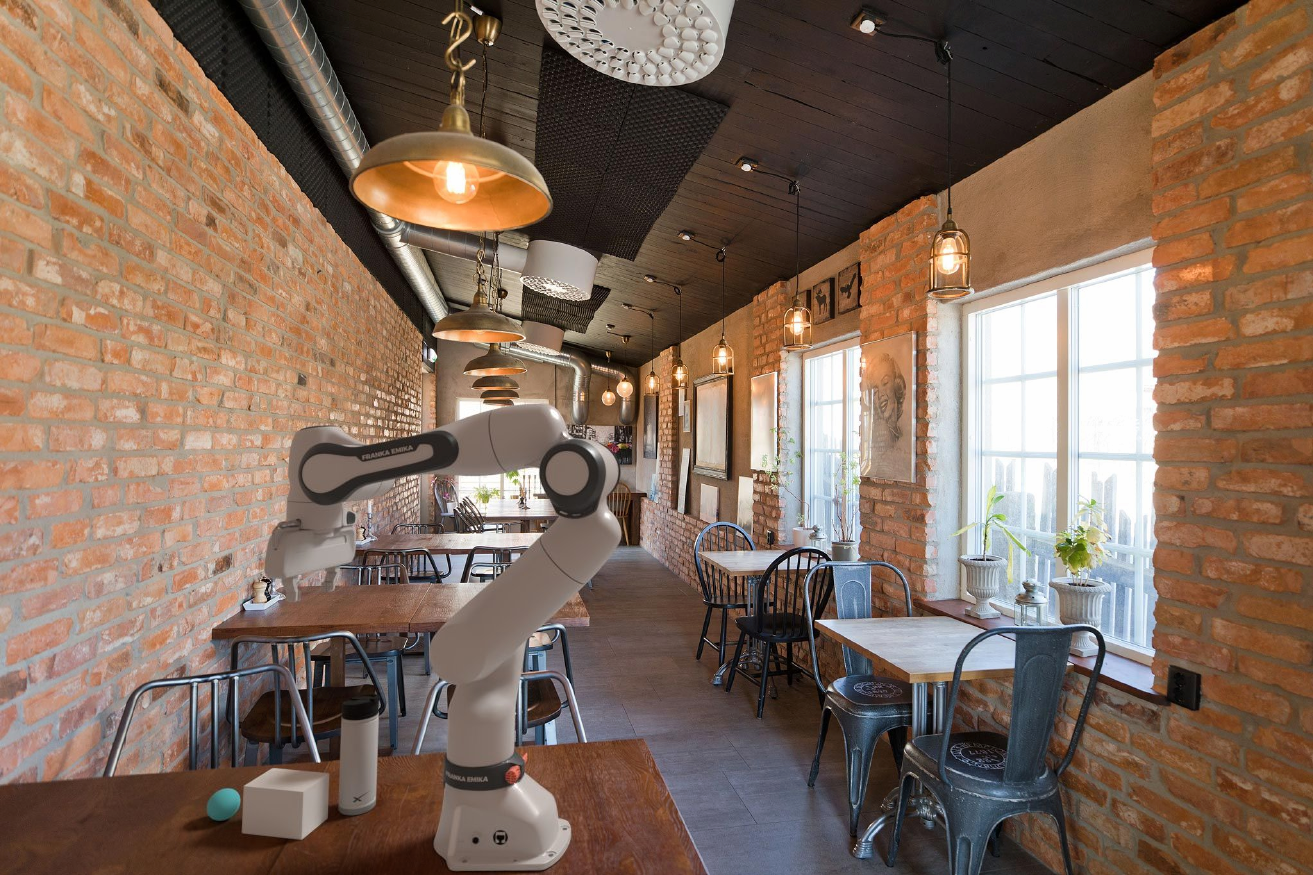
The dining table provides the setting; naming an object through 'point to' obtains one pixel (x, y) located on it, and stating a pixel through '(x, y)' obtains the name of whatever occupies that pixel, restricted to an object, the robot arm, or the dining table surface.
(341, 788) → the travel mug
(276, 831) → the off-white rectangular block
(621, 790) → the dining table surface
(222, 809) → the ball
